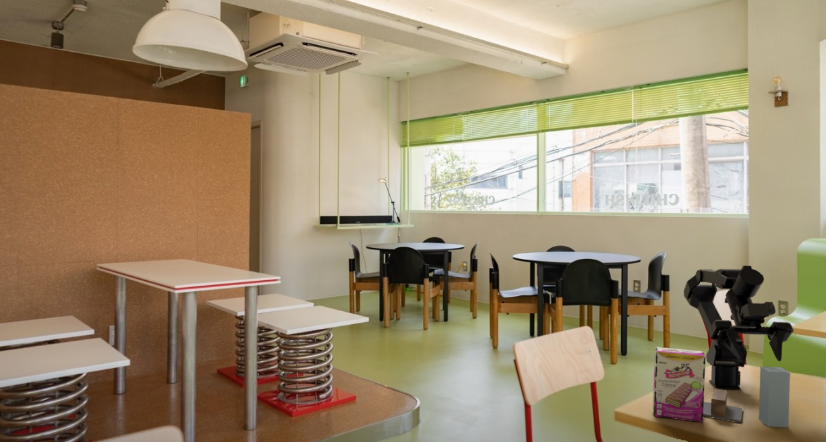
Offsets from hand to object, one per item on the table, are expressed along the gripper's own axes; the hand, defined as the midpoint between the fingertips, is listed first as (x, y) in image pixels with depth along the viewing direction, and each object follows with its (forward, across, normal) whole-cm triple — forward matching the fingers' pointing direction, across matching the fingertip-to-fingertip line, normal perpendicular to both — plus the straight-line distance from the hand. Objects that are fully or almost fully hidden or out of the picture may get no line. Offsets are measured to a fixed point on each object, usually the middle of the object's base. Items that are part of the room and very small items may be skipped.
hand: (760, 359), depth 145 cm
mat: (+11, -10, +8) cm, 17 cm away
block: (+14, 0, +4) cm, 15 cm away
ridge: (+11, -10, +8) cm, 17 cm away
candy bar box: (+14, -22, +5) cm, 26 cm away
